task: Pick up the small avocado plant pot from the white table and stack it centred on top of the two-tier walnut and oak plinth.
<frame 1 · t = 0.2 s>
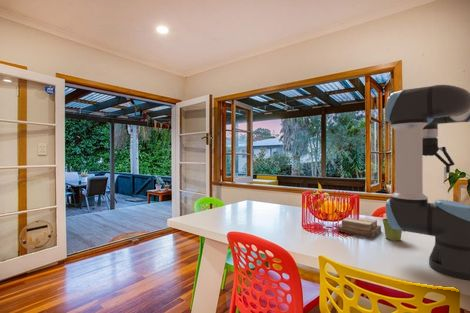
hand: (428, 178, 132), 28 cm above the table, tool pointing down, fingers open, 13 cm apart
plant pot: (393, 239, 121), on the table
plinth: (359, 231, 132), on the table
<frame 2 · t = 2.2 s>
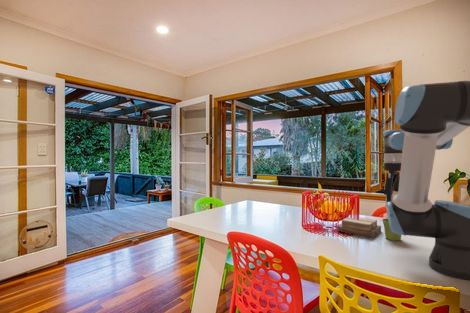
hand: (393, 206, 121), 15 cm above the table, tool pointing down, fingers open, 13 cm apart
nothing on the table moved.
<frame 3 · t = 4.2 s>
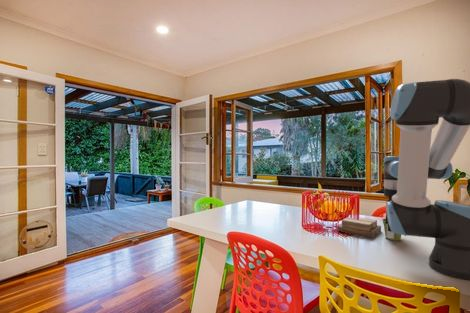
hand: (393, 235, 121), 2 cm above the table, tool pointing down, fingers closed on plant pot, 9 cm apart
plant pot: (393, 239, 121), on the table, touching gripper
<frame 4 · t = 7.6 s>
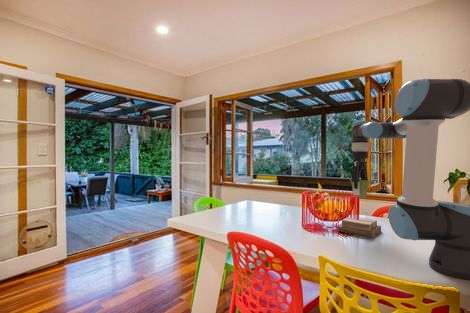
hand: (359, 194, 132), 20 cm above the table, tool pointing down, fingers closed on plant pot, 9 cm apart
plant pot: (359, 197, 132), point 18 cm above the table, touching gripper
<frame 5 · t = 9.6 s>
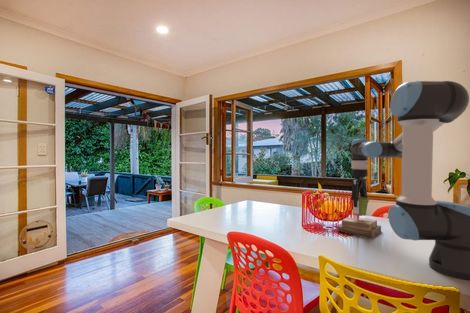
hand: (359, 211, 132), 10 cm above the table, tool pointing down, fingers closed on plant pot, 9 cm apart
plant pot: (359, 215, 132), point 9 cm above the table, touching gripper
when the fingers open (8 cm above the table, at t = 11.2 s): plant pot stays where it is, resting on plinth.
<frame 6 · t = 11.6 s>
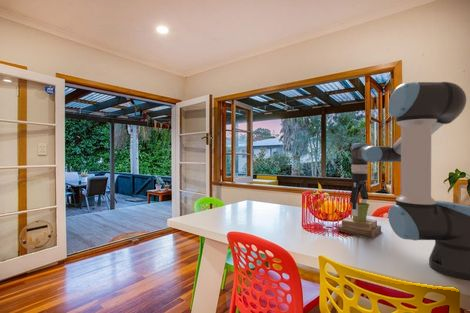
hand: (359, 213, 132), 10 cm above the table, tool pointing down, fingers open, 13 cm apart
plant pot: (359, 220, 132), point 6 cm above the table, touching plinth
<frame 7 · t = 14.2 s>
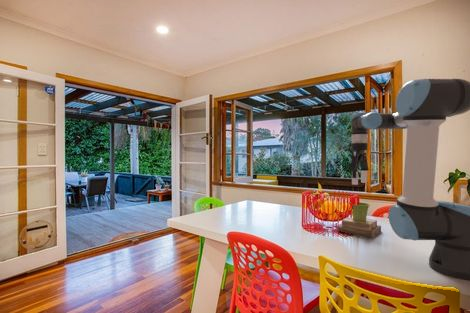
hand: (359, 183, 132), 25 cm above the table, tool pointing down, fingers open, 13 cm apart
nothing on the table moved.
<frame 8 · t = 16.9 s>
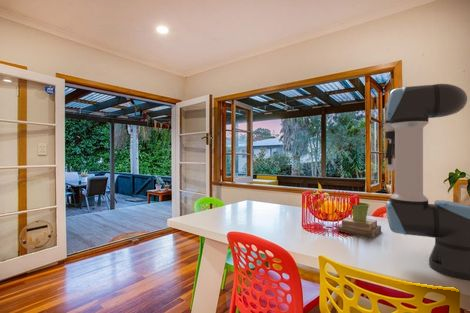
hand: (393, 170, 137), 32 cm above the table, tool pointing down, fingers open, 13 cm apart
nothing on the table moved.
at the end: plant pot inside the target area on the plinth (0.1 cm from its centre), point 5.8 cm above the plinth's base; plant pot tilted 0°; the gripper is holding nothing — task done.
